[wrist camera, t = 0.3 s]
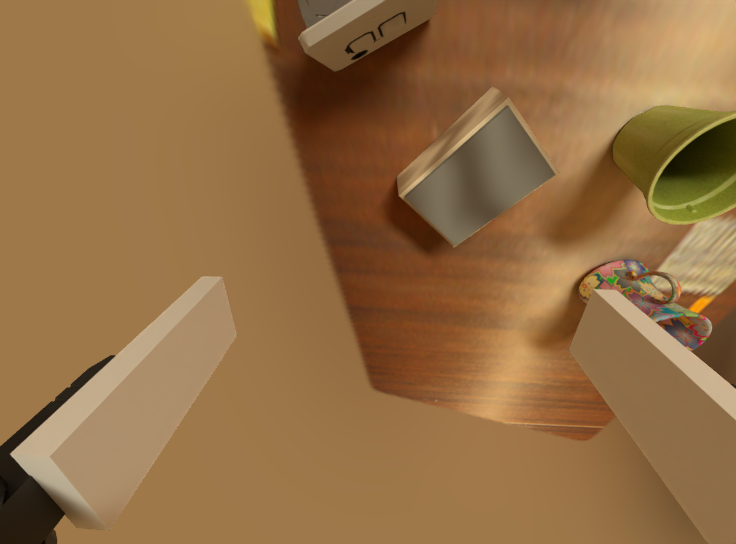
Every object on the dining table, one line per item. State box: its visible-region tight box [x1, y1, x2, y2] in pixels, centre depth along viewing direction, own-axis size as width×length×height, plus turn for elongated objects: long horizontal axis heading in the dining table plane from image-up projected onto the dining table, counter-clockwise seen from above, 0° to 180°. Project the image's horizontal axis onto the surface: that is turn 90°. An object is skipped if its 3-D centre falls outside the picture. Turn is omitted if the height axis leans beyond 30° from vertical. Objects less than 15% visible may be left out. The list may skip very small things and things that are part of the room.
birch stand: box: [397, 86, 560, 247], centre depth 31 cm, size 12×9×5 cm
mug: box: [578, 260, 712, 351], centre depth 39 cm, size 12×9×11 cm
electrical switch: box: [297, 0, 438, 72], centre depth 22 cm, size 9×5×9 cm, turn 115°
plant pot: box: [612, 106, 736, 225], centre depth 28 cm, size 9×9×9 cm
